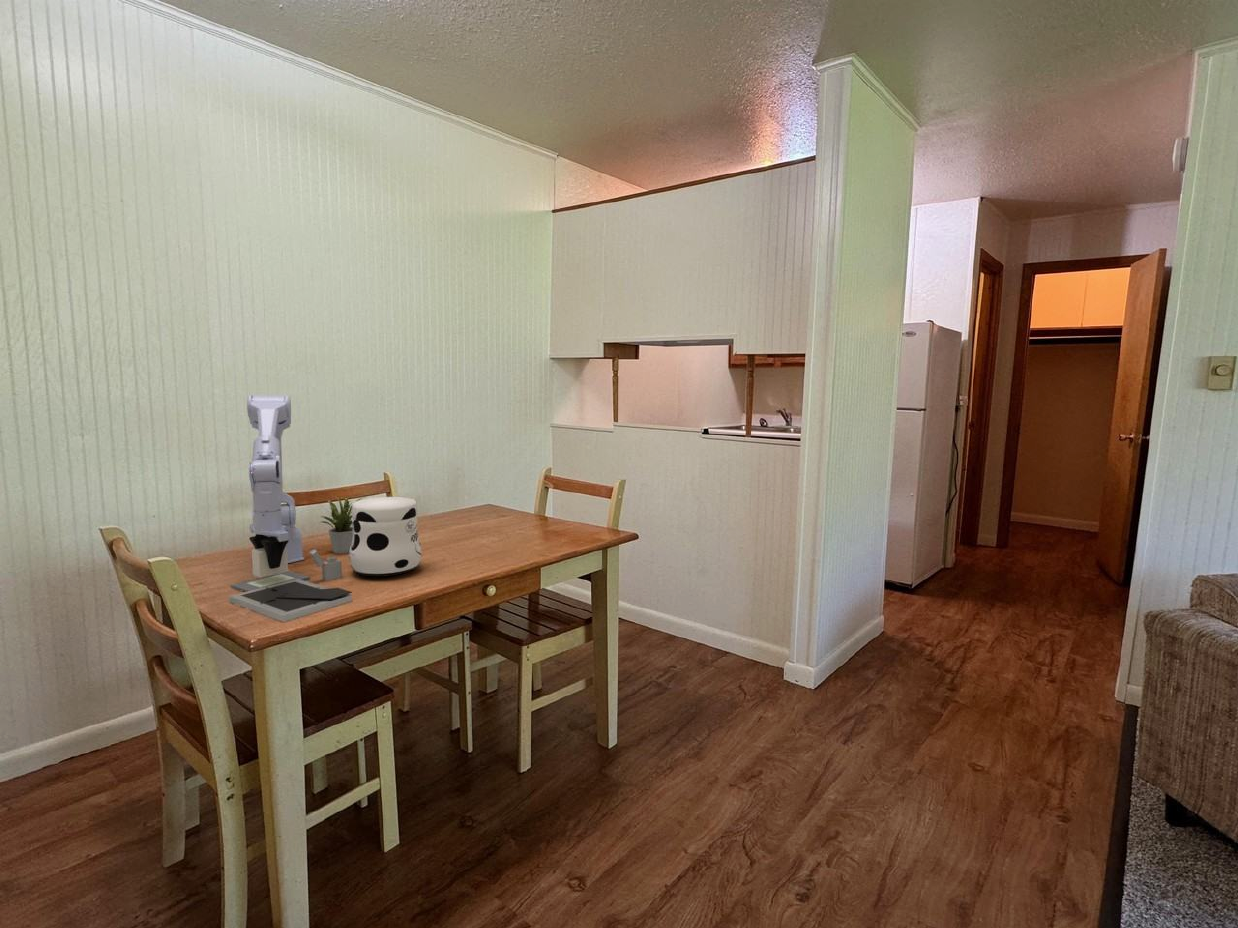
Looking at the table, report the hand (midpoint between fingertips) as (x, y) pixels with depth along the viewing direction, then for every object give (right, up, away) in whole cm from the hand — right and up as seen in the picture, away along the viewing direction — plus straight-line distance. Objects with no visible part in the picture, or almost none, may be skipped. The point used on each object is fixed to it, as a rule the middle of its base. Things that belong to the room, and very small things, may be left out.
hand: (270, 566), depth 155 cm
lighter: (+11, -4, +4) cm, 13 cm away
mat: (0, -4, +1) cm, 4 cm away
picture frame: (+11, -7, -12) cm, 17 cm away
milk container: (+23, -3, +12) cm, 26 cm away
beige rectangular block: (0, -2, 0) cm, 2 cm away
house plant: (+6, -1, +31) cm, 31 cm away
